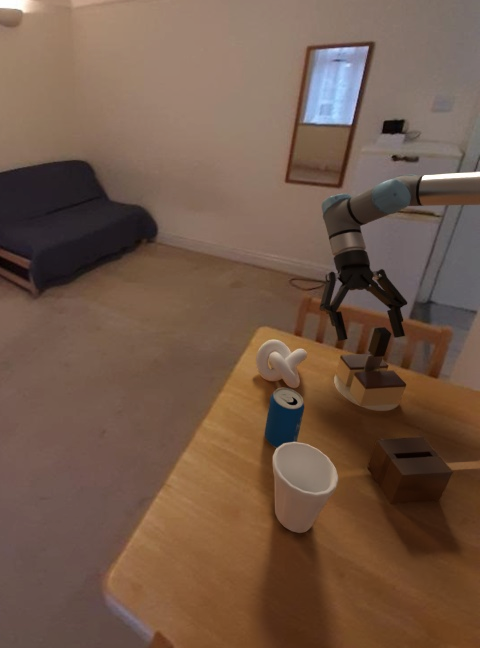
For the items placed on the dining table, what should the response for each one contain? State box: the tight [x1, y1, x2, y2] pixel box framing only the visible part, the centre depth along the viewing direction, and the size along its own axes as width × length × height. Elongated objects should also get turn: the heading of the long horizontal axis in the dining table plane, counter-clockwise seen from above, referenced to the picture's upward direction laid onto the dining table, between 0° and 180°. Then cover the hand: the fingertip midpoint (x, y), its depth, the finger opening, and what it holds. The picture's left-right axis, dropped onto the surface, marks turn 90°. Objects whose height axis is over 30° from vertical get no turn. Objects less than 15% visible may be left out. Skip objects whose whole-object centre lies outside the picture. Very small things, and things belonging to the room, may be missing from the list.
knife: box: [363, 326, 392, 372], centre depth 94 cm, size 3×2×17 cm
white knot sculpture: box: [255, 339, 308, 389], centre depth 102 cm, size 11×12×9 cm
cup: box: [272, 441, 339, 534], centre depth 69 cm, size 10×10×13 cm
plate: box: [333, 374, 400, 412], centre depth 98 cm, size 14×14×1 cm
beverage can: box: [264, 387, 305, 448], centre depth 84 cm, size 6×6×12 cm
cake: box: [335, 353, 407, 407], centre depth 96 cm, size 9×11×6 cm
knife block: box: [366, 436, 454, 505], centre depth 75 cm, size 9×7×8 cm
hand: (371, 338), depth 95 cm, fingers open, 13 cm apart
